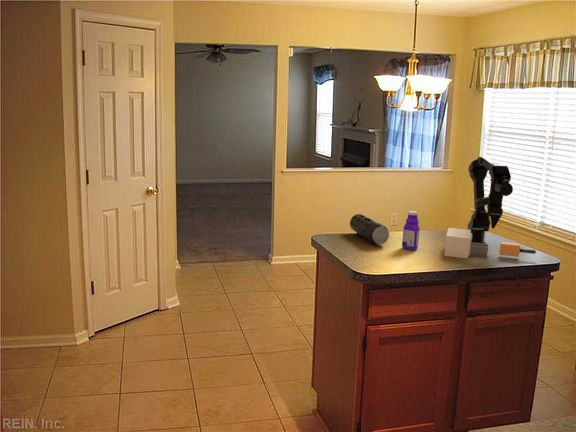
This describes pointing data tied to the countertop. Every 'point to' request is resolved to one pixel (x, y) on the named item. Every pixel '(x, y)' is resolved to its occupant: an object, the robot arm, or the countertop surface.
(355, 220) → the muzzle brake
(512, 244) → the plug
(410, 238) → the bottle
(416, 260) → the countertop surface
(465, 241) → the socket box
